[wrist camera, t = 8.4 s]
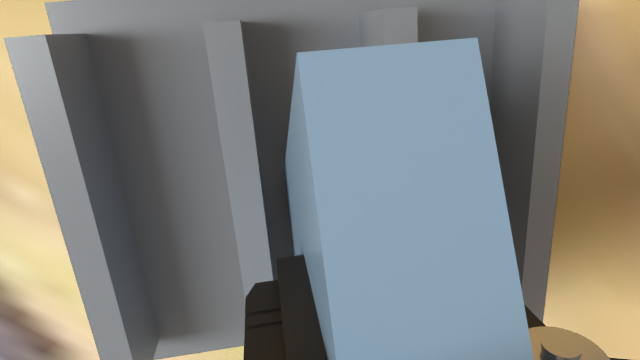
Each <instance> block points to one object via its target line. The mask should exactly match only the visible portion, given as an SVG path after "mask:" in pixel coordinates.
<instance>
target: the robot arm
mask: <svg viewBox="0 0 640 360" xmlns="http://www.w3.org/2000/svg"><path fill="white" fill-rule="evenodd" d="M276 263H277V273H278V280H273V281H266V282H259V283H255V284H254V286H253V287H252V289H251V290H250V292H249V293H248V295H247V296H246V299H245V334H244V360H328V359H327V355H326V350H325V346H324V341H323V337H322V333H321V328H320V324H319V319H318V315H317V310H316V306H315V302H314V297H313V293H312V288H311V284H310V280H309V275H308V271H307V266H306V262H305V258H304V255H297V256H289V257H282V258H276ZM524 306H525V312H526V318H527V324H528V329H529V335H530V341H531V346H532V352H533V358H534V360H628V359H616V358H609V357H608V356H607V355H606V354H605V353H604V352H603V351H602V350H601V349H600V348H599V347H598V346H597V345H596V344H595V343H593V342H592V341H590V340H589V339H587V338H585V337H583V336H581V335H579V334H577V333H574V332H572V331H569V330H565V329H562V328H556V327H547V326H545V325H544V324H543V323H542V322H541V321H540V320H539V319H538V318H537V316H536V315H535V314H534V313H533V312H532V311H531V310H530V309H529V308H528V307H527V306H526V305H525V304H524Z"/></svg>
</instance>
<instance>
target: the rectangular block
mask: <svg viewBox="0 0 640 360" xmlns="http://www.w3.org/2000/svg"><path fill="white" fill-rule="evenodd" d="M284 177H285V185H286V194H287V202H288V210H289V219H290V227H291V235H292V244H293V252H294V256H297V255H304V258H305V262H306V266H307V271H308V275H309V280H310V284H311V288H312V293H313V297H314V302H315V306H316V310H317V315H318V319H319V324H320V328H321V333H322V337H323V341H324V346H325V350H326V355H327V359H328V360H534V358H533V352H532V346H531V341H530V335H529V329H528V324H527V318H526V312H525V306H524V301H523V295H522V289H521V284H520V278H519V272H518V266H517V261H516V255H515V249H514V244H513V238H512V232H511V227H510V221H509V215H508V209H507V204H506V198H505V192H504V187H503V181H502V175H501V169H500V164H499V158H498V152H497V147H496V141H495V135H494V130H493V124H492V118H491V112H490V107H489V101H488V95H487V90H486V84H485V78H484V72H483V67H482V61H481V55H480V50H479V44H478V38H466V39H454V40H442V41H430V42H418V43H406V44H394V45H382V46H370V47H358V48H346V49H334V50H322V51H310V52H297V57H296V66H295V75H294V84H293V93H292V102H291V111H290V120H289V129H288V139H287V148H286V157H285V166H284Z"/></svg>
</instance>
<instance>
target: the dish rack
mask: <svg viewBox="0 0 640 360" xmlns="http://www.w3.org/2000/svg"><path fill="white" fill-rule="evenodd" d="M44 3H45V7H46V11H47V14H48V18H49V22H50V26H51V30H52V33H53V35H35V36H22V37H9V38H4V41H5V44H6V48H7V51H8V54H9V58H10V61H11V64H12V68H13V71H14V74H15V78H16V81H17V84H18V88H19V91H20V94H21V98H22V101H23V104H24V108H25V111H26V114H27V117H28V121H29V124H30V127H31V131H32V134H33V137H34V141H35V144H36V147H37V151H38V154H39V157H40V161H41V164H42V167H43V171H44V174H45V177H46V181H47V184H48V187H49V191H50V194H51V197H52V201H53V204H54V207H55V211H56V214H57V217H58V221H59V224H60V227H61V231H62V234H63V237H64V241H65V244H66V247H67V251H68V254H69V257H70V261H71V264H72V267H73V271H74V274H75V277H76V280H77V284H78V287H79V290H80V294H81V297H82V300H83V304H84V307H85V310H86V314H87V317H88V320H89V324H90V327H91V330H92V334H93V337H94V340H95V344H96V347H97V350H98V354H99V357H100V360H156V359H163V358H169V357H175V356H181V355H188V354H194V353H200V352H207V351H213V350H219V349H226V348H232V347H238V346H244V334H245V299H246V296H247V295H248V293H249V292H250V290H251V289H252V287H253V286H254V284H255V283H259V282H266V281H273V280H278V273H277V263H276V258H282V257H289V256H294V252H293V244H292V235H291V227H290V219H289V210H288V202H287V194H286V185H285V177H284V166H285V157H286V148H287V139H288V129H289V120H290V111H291V102H292V93H293V84H294V75H295V66H296V57H297V52H310V51H322V50H334V49H346V48H358V47H370V46H382V45H394V44H406V43H418V42H430V41H442V40H454V39H466V38H478V44H479V50H480V55H481V61H482V67H483V72H484V78H485V84H486V90H487V95H488V101H489V107H490V112H491V118H492V124H493V130H494V135H495V141H496V147H497V152H498V158H499V164H500V169H501V175H502V181H503V187H504V192H505V198H506V204H507V209H508V215H509V221H510V227H511V232H512V238H513V244H514V249H515V255H516V261H517V266H518V272H519V278H520V284H521V289H522V295H523V301H524V304H525V305H526V306H527V307H528V308H529V309H530V310H531V311H532V312H533V313H534V314H535V315H536V316H537V318H538V319H539V320H540V321H541V322H542V323H543V315H544V306H545V298H546V289H547V280H548V271H549V262H550V253H551V245H552V236H553V227H554V218H555V209H556V201H557V192H558V183H559V174H560V165H561V157H562V148H563V139H564V130H565V121H566V113H567V104H568V95H569V86H570V77H571V68H572V60H573V51H574V42H575V33H576V24H577V16H578V7H579V0H73V1H58V2H44Z"/></svg>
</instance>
